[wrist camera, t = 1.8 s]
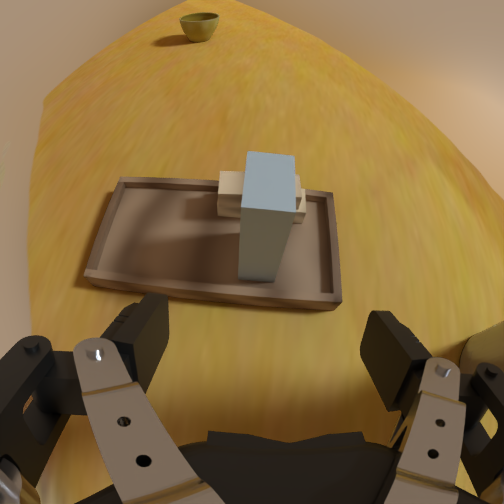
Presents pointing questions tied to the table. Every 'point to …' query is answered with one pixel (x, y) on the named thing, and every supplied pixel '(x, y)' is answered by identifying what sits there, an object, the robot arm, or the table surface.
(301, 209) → the offcut stack
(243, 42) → the table surface
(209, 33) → the green bowl
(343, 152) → the table surface
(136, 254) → the brown serving tray
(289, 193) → the blue-grey rectangular block
